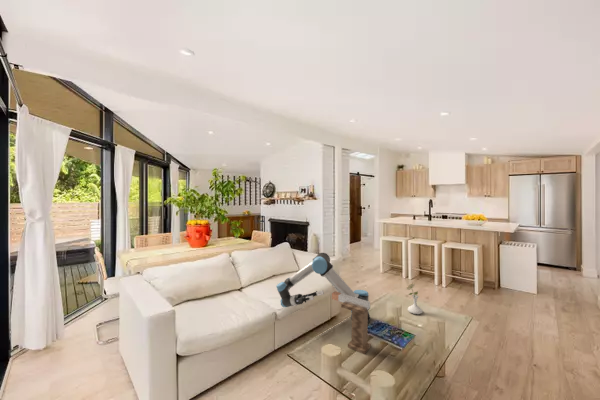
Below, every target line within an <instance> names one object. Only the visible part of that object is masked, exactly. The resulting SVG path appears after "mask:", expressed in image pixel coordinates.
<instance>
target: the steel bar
mask: <svg viewBox="0 0 600 400" xmlns="http://www.w3.org/2000/svg"><path fill="white" fill-rule="evenodd" d="M331 299H332V300H334V301H337V302H341V303H346V304H350V305H353V306H356V307H359V308H362V309H365V310H368V309H369V308H370V309H371V301H369V300H368V301H366V300H362V299H359V298H356V297H352V296H349V295H345V294H342V293H339V292H338V291H337V290H336V291H335V290H334V292H332V293H331ZM370 309H369V310H370ZM369 310H368V311H369Z"/></svg>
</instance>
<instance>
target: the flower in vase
mask: <svg viewBox="0 0 600 400" xmlns="http://www.w3.org/2000/svg"><path fill="white" fill-rule="evenodd" d="M414 287H415V283H413V282H412V283H409V285H407V286H406V290H408V291H409V290H412V292H410V293H408V295H409V296H412V299H413V304H412V305H410V306H408V307H407V311H408V312H409V313H411V314H413V315H421V314H422V313H423V309H422V308H421V307H420V306H419V305H418V304H417V302H418V298H419V297H420V296H419V295H418V294H419V292H418V291H415V292H414V290H413V288H414Z"/></svg>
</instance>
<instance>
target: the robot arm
mask: <svg viewBox="0 0 600 400" xmlns="http://www.w3.org/2000/svg"><path fill="white" fill-rule="evenodd" d="M312 273H315V274H318V275H320V276H321V277H322V278H325V279H326V280H327V282H329V283H330V284H331V286H332V287H334V289H335V290H336V292H339V293H342V294H345V295H349V296H352V297H356V298H359V299H362V300H366V301H369V296H370V295H369V292H368V291H367V290H364V289H355V290H353V289H352V288H351V287H350V286H349V285H348V284H347V283H346V282H345V280H343V279H342V277H341V276H340V275H339V274H338V273H337V272H336V271H335V269H334V265H333V263H331V257H330V255H329V254H327V253H326V252H320V253H317V255H316V256H315V257H314V258H312V261H310V262H309V263H308V264H306V265H305V266H303V267H302V268H300V269H299V270H298V271H296V272H295V273H293V274H292V275H291V276H290V277H288V278H286V279H285V280H284V281H281V282H279V283H277V285H276V291H277V292H278V294H279V296H280V298H281V299H280V305H281V307H282V308H289V307H294V306H295V307H297V306H298V305H299V306H300V305H303V304H304V303H307V302H308V301H313V300H315V297H316V296H317V297H318V296H321V295H325V292H324V290H319V291H317V290H315V292H311V293H307V294H302V293H298V294H292V295H291V293H290V289H291V288H293V287H294V286H296V285H297V284H298V283H300V282H301V281H302V280H304V279H305V278H307V277H308V276H310V275H311V274H312ZM350 312H351V314H350V320H351V321H352V311H351V310H350ZM370 322H371V315H370V312H369V311H368V324H369V323H370Z"/></svg>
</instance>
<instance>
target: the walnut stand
mask: <svg viewBox="0 0 600 400" xmlns="http://www.w3.org/2000/svg"><path fill="white" fill-rule="evenodd" d="M340 306H341V308H343V309H346V310H349V311H350V312H351V311H352V313H351V314H352V320H351V340H350V341H349V343H347V348H349V349H351V350H354V351H356V352H359V353H360V354H363V355H365V354H366V353H367V352H368V351H369V350H370V348H371V347H372V344H371V343H370V342H368V329H369V328H368V326H369V325H368V324H369V323H368V312H369V310H370V309H371V307H370V308H369V309H368V310H365V309H362V308H359V307H356V306H353V305H350V304H346V303H343V302H341V305H340Z"/></svg>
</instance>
